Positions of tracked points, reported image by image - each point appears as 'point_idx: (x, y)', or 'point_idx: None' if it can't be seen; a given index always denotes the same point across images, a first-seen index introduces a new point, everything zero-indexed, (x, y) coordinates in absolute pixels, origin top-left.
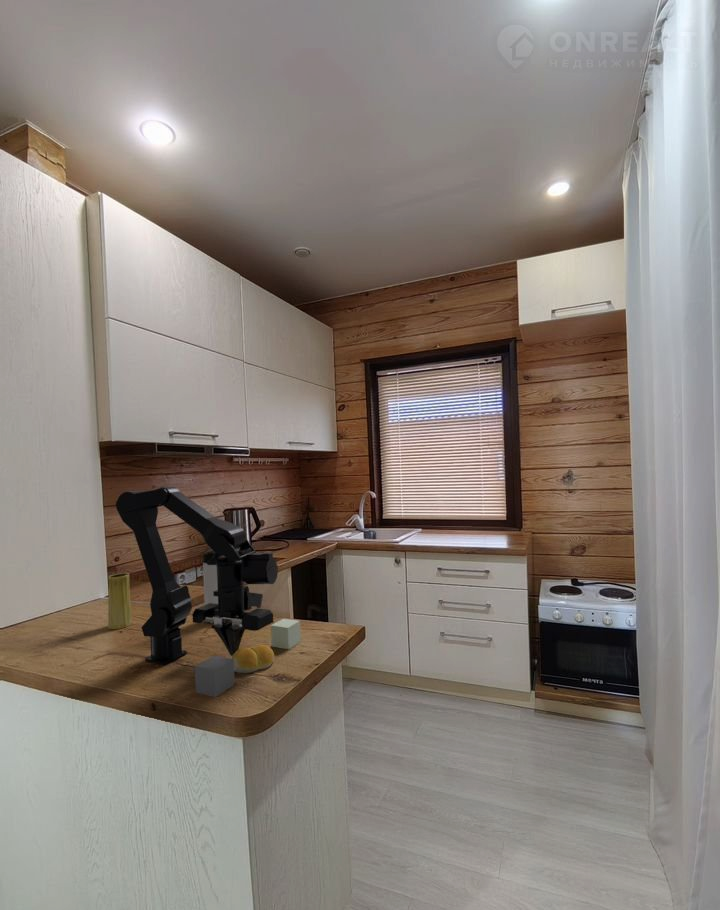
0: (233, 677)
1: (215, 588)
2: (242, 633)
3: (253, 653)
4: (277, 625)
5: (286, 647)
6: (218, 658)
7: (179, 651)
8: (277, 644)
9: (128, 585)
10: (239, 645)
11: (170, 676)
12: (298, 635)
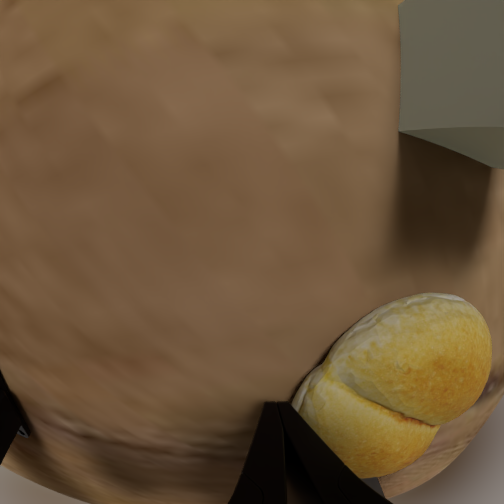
0: (378, 484)
1: None
2: (374, 500)
3: (432, 439)
4: None
5: (488, 163)
6: None
7: (4, 413)
8: (452, 146)
9: None
10: (318, 436)
11: (128, 482)
12: None
